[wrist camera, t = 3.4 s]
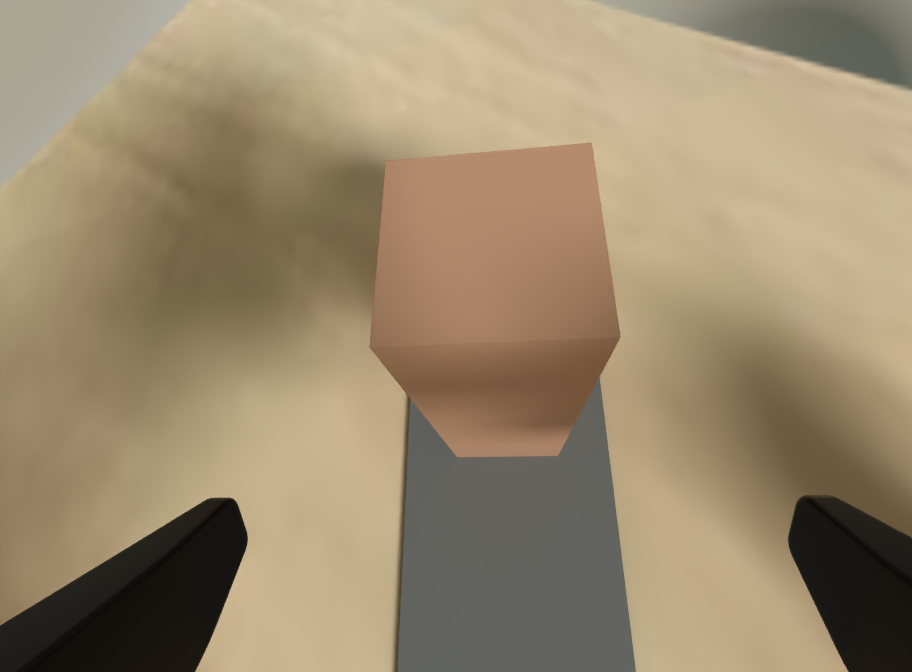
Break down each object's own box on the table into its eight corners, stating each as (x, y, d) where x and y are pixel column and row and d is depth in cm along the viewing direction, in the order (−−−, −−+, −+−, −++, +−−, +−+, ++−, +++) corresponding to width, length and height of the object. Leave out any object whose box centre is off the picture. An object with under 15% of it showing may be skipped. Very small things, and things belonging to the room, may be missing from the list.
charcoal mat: (638, 711, 15) (641, 716, 15) (398, 699, 16) (396, 703, 16) (577, 213, 23) (578, 208, 22) (419, 225, 24) (418, 220, 23)
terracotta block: (557, 455, 18) (619, 336, 7) (456, 457, 18) (369, 347, 8) (550, 360, 20) (591, 142, 9) (457, 363, 20) (385, 160, 9)
